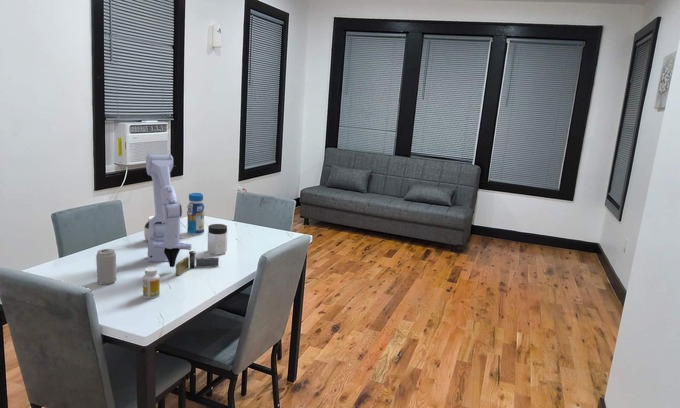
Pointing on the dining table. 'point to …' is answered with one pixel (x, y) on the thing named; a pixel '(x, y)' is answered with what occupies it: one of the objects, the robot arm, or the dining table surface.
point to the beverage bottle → (195, 214)
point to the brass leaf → (182, 266)
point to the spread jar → (146, 228)
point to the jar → (217, 239)
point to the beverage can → (106, 266)
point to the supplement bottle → (151, 283)
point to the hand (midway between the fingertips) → (172, 266)
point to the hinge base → (202, 261)
